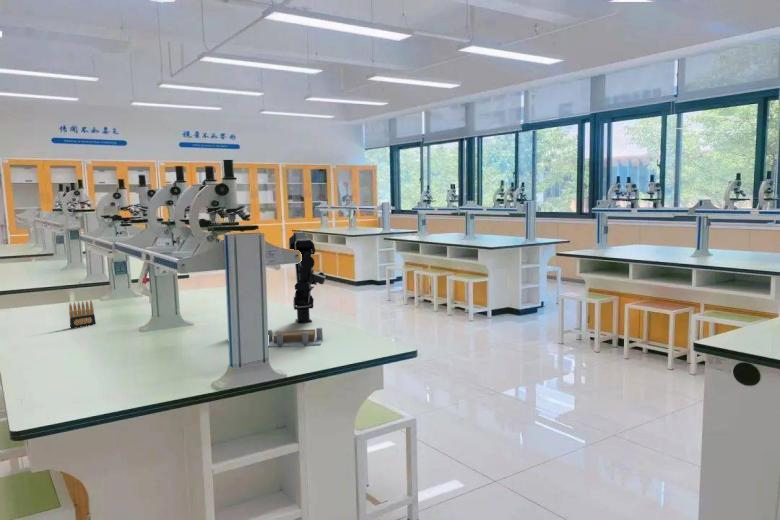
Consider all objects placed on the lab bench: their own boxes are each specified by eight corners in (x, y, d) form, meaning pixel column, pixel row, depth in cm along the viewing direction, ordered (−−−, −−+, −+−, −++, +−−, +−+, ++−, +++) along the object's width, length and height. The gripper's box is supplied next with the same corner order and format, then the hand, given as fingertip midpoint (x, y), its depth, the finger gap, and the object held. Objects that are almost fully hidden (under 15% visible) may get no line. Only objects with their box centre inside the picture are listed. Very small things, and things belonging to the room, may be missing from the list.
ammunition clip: (70, 328, 270) (68, 303, 268) (70, 328, 271) (67, 303, 269) (95, 324, 276) (93, 300, 275) (95, 324, 278) (92, 299, 276)
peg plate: (267, 340, 239) (267, 328, 238) (323, 338, 239) (322, 326, 239) (263, 347, 228) (262, 335, 228) (321, 345, 229) (320, 332, 229)
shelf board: (276, 330, 239) (273, 335, 232) (315, 329, 240) (313, 334, 232) (276, 337, 240) (273, 343, 232) (315, 336, 240) (313, 341, 233)
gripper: (319, 269, 240) (321, 306, 241) (327, 265, 259) (328, 299, 260) (293, 270, 241) (295, 307, 242) (302, 266, 259) (304, 300, 260)
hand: (307, 303), depth 251 cm, fingers closed
